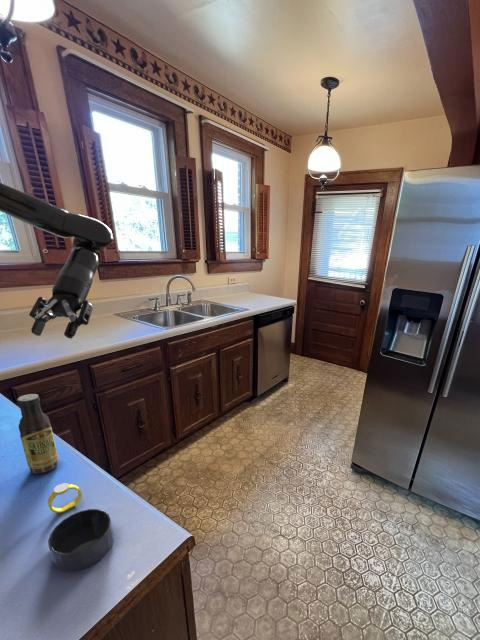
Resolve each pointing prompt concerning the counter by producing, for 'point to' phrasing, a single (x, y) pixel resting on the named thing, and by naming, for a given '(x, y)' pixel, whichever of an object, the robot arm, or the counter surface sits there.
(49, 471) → the brown flat disc
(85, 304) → the robot arm
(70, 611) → the counter surface
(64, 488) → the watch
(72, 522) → the pan
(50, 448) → the sauce bottle
